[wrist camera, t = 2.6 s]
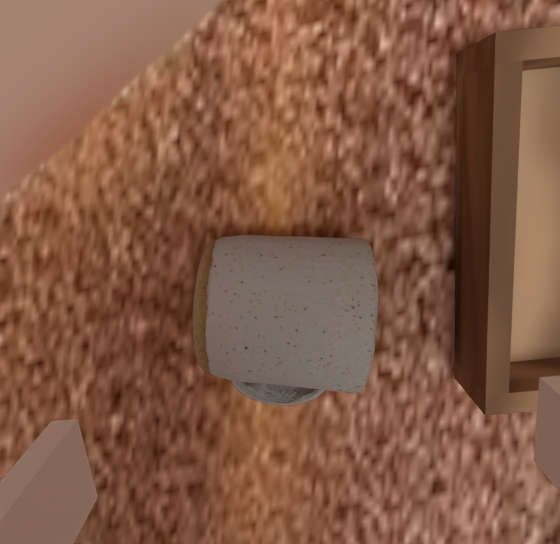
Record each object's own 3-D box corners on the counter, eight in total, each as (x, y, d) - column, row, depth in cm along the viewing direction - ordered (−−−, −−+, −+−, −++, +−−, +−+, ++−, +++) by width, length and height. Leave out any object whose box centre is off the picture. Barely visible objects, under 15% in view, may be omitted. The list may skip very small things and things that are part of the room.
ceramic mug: (211, 222, 24) (183, 254, 17) (357, 226, 24) (393, 260, 17) (214, 390, 27) (191, 480, 20) (344, 392, 27) (370, 483, 20)
